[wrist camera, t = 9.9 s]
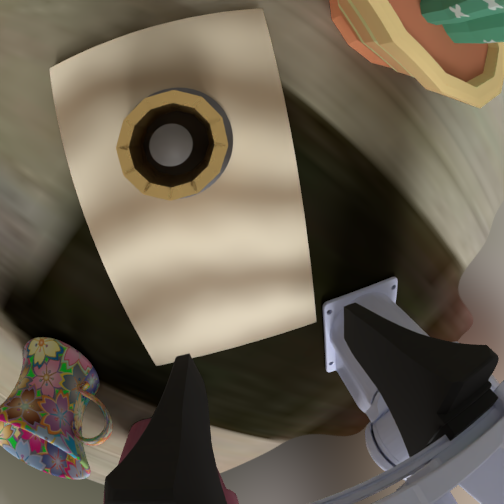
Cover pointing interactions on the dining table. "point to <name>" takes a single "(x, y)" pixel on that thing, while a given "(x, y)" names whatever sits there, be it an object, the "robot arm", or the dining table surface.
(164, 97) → the brass collar
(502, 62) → the potted cactus
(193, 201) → the post board
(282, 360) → the dining table surface
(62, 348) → the mug
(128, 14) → the dining table surface
